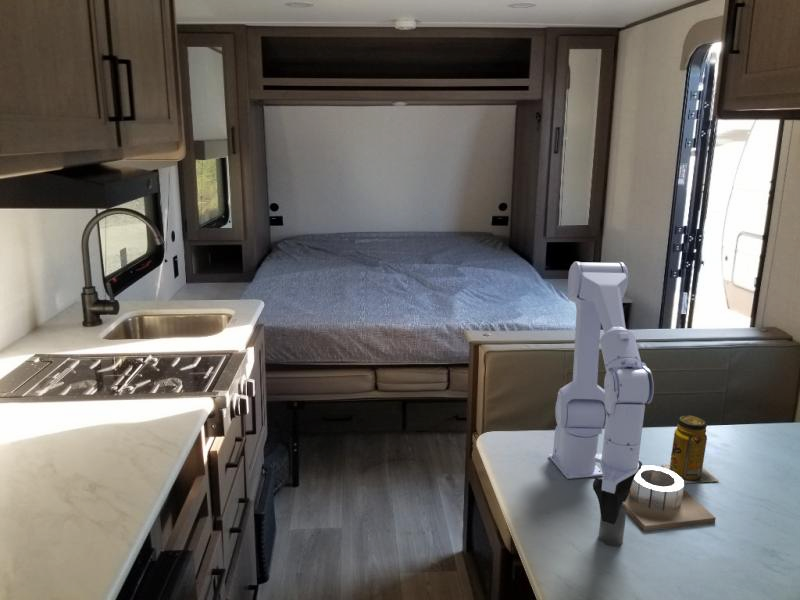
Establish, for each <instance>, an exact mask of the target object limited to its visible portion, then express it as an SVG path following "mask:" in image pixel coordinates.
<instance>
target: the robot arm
mask: <svg viewBox="0 0 800 600" xmlns="http://www.w3.org/2000/svg"><path fill="white" fill-rule="evenodd" d="M567 277H568V281H567V297H568V298H567V299H568V301H571V302H572V303H575V309H576V313H575V315H576V316H575V333H574V334H575V335H574V336H575V337H574V350H573V351H574V353H573V368H572V369H573V372H572V373H573V374H572V381H570V382H569V383H568V384H565V385H564V386H563V387H561V388H559V390H558V392H557V399H556V402H555V409H554V410H555V411H554V413H555V421H556V424H557V425H556V426H555V429H554V436H553V437H554V439H553V450H552V453H549V455H548V457H549V459H550V460H551V461H552V462H553V464H555V466H556V467H557V468H558V469H559V471H560V472H561V474H563V475H564V477H566V479H568V480H569V479H570V480H572V479H580V478H591V477H595V479H594V480H593V482H592V489H593V491H594V493H595V495H596V497H597V499H598V500H597V501H598V503H599V504H598V505H599V512H600V519H601V518H602V521H604V522H607V523H610V524H615V522H616V520H617V518H618V515H619V511H620V508H621V505H622V503H623V502H625V501H626V499H627V497H628V495H629V493H630V488H631V485H632V482H633V479H634V478H635V476H636V474H637V473H638V472H639V471H640V469H641V467H642V466H643V463H642V461H640V460H639V459H640V458H639V457H640V449H641V441H642V433H643V426H644V418H645V411H646V405H645V404H647V405H649V404H650V403H651V402H652V400H653V398H654V391H655V389H654V388H655V387H654V386H655V385H654V384H655V383H654V378H653V373H652V371H651V369H650V368H648V366H647V364H646V363H645V362H642V360H641V356H640V351H639V348H638V345H637V339H636V336H635V334H634V333H633V332H632V331H631V330H629V329H627V328H626V327H627V326H626V322H625V313H624V307H623V301H622V300H623V299H624V297H625V293H626V291H627V288H628V285H629V270H628V267H627V266H626V265H625V263H624V262H622V261H618V262H589V261H588V262H584V261H583V262H581V261H573V263H572V264H571V265H570V268H569V270H568V275H567ZM601 326H602V329H603V334H602V335H601ZM600 350H601V353H602V358H603V362H604V368H605V372H606V373H605V375H604V380H603V381H604V382H603V387H601V386H600V385H599V384H598V374H599V359H600V358H599V357H600ZM603 430H604V433H603ZM602 434H604V436H603V444H602V452H601V453H598V444H599V435H602ZM596 463H598V464H600V468H599V467H598V466H597V465H596ZM600 476H601V477H602V478H603V480H601V479H600V478H597V477H600Z"/></svg>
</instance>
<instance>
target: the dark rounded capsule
mask: <svg viewBox="0 0 800 600" xmlns="http://www.w3.org/2000/svg"><path fill="white" fill-rule="evenodd" d="M626 518H627V510H626V508H625V507H624V506H623V505H621V508H620V511H619V515H618V518H617V520H616V522H615V524H610V523H607V522H604V521H602V518H601V517H600V519H599V520H600V521H599V528H598V529H599V531H598V539H599V541H600V542H601V543H602V544H604V545H606V546H609V547H620V546H621V545H622V544H623V542H624V536H625V535H624V533H625V527H626Z"/></svg>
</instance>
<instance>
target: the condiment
mask: <svg viewBox="0 0 800 600" xmlns="http://www.w3.org/2000/svg"><path fill="white" fill-rule="evenodd" d="M707 427H708V425H707V422H706V421H705V420H704V419H702V418H700V417H697V416H694V415H682V416H680V417H679V418H678V420H677V426H676V428H675V430H674V434H673V439H672V440H673V441H672V447H671V448H672V450H671V453H670V454H671V455H670V462H669V464H661V466H662V468H665V469H668V470H670V471H672V472H674V473H676V474H677V475H679V476H680V477H681V478H682V480H683V482H684V484H698V483H699V484H700V483H712V482H720V480H719V479H718V478H716V477H715V476H714V475H712V474H711V473H710V472H709V471H707V469H706V468H705V467H704V462H705V460H704V459H705V455H706V449H707V448H706V447H707V440H708V437H707V434H706V433H707Z"/></svg>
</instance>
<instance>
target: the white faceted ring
mask: <svg viewBox="0 0 800 600" xmlns="http://www.w3.org/2000/svg"><path fill="white" fill-rule="evenodd" d="M684 488H685V483H684V482H683V480H682V478H681V477H680V476H679V475H677V474H676V473H674V472H672V471H670V470H668V469H665V468H664V467H663V466H662V467H660V466H656V465H642V467H641V469H640V471H639V472H638V473H637V474H636V476H635V478H634V479H633V482H632V485H631V488H630V496H631V497H632V498H633V499H634V500H635V501H636V502H638V504H640V505H643V506H645V507H647V508H649V507H650V509H654V510H659V511H662V510H663V511H669V510H674V509H675V510H676V509H677V508H678V507H679V506H681V502H682V496H683V489H684ZM684 490H685V489H684Z"/></svg>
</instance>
